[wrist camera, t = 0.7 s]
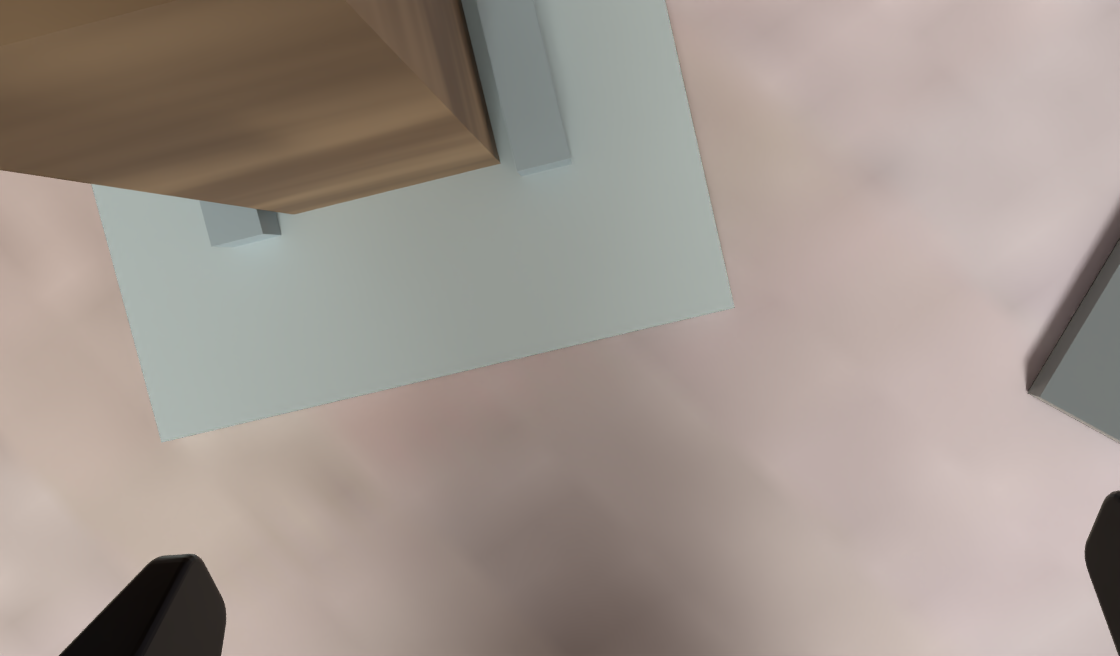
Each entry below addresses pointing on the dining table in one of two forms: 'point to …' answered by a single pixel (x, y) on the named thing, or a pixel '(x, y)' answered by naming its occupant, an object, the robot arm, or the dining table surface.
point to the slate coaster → (1089, 358)
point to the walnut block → (242, 97)
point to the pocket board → (441, 238)
